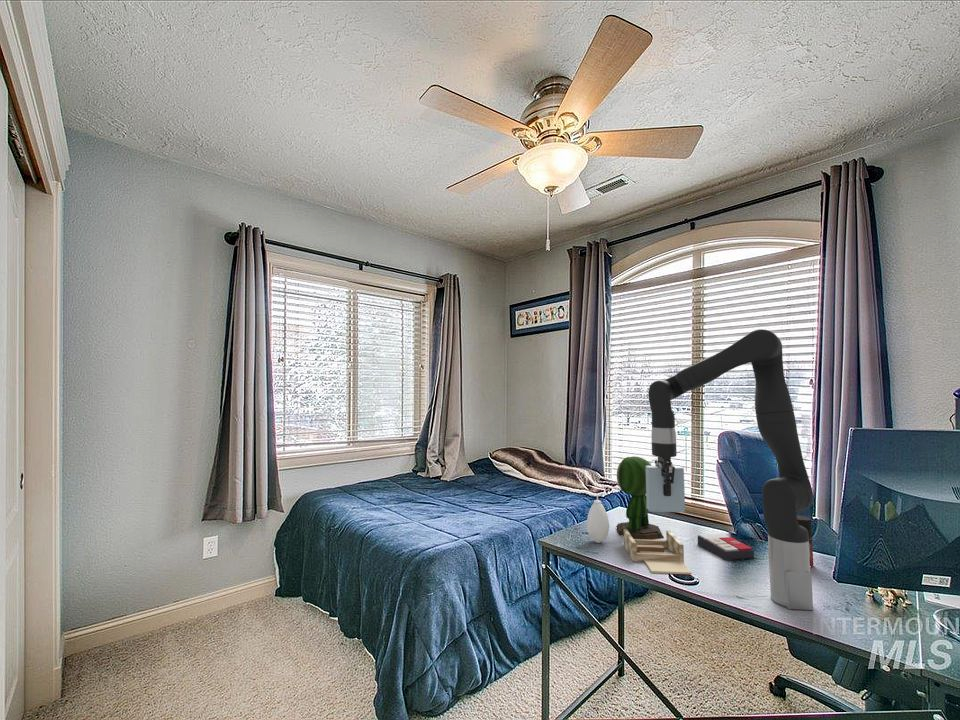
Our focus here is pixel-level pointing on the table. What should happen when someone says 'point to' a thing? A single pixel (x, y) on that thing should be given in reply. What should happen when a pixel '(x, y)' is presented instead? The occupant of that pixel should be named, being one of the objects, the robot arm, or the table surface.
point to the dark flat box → (725, 546)
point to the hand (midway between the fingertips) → (665, 494)
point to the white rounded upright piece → (598, 522)
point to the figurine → (636, 499)
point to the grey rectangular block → (655, 491)
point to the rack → (670, 543)
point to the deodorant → (807, 524)
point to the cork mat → (667, 567)
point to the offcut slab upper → (649, 548)
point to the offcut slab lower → (655, 552)
